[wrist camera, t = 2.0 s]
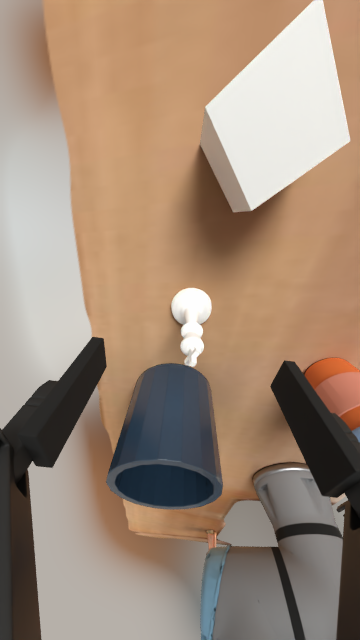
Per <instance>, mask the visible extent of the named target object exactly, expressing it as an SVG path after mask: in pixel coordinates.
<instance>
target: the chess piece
mask: <svg viewBox="0 0 360 640" xmlns="http://www.w3.org/2000/svg"><path fill="white" fill-rule="evenodd" d="M211 308H212V304H211V300H210V298H209V296H208V295H207V294H206V293H205V292H204V291H202V290H200V289H196V288H187V289H184V290H181V291H180V292H178V293H177V294H176V295H175V297H174V298H173V300H172V304H171V309H172V314H173V316H174V318H175V319H176V320H177V321H178V322H179V323H181V324H183V327H182V328H181V335H182V337H183V338H184V339H183V341H182V342H181V346H180V348H181V351H182V352H183V353H184V354H185V355H187V356H188V357H187V358H186V359H185V363H184V364H185V365H187V366H192V367H194V366H195V365H196V364H197V362H196V358H197V357H198V355H199V354H201V353H202V351H203V349H204V344H203V342H202V340H201V339H200V338H201V336H202V334H203V329H202V327H201V326H200V324H202V323H204V322H205V321H206V320H207V319H208V318H209V316H210V314H211Z"/></svg>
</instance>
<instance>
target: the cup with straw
mask: <svg viewBox="0 0 360 640" xmlns="http://www.w3.org/2000/svg"><path fill="white" fill-rule="evenodd" d="M304 376H305V377H306V379H307V380H308V382H309V383H310V384H311V386H312V387H313V389H314V390H315V391H316V393H317V394H318V396H319V397H320V398H321V400H322V401H323V403H324V404H325V405H326V407H327V408H328V410H329V411H330V413H336V414H337V415H338V416H339V417H340V418H341V419H342V420H343V421H344V422H345V423H346V424H347V425H348V427H349V428H350V429H351V431H352V433H353V434H354V435H355V436H356V437H357V439H358V440H359V442H360V371H359V370H358V369H357V368H355V367H354V366H353V365H351V364H350V363H349V362H347V361H346V360H344V359H341V358H327V359H323V360H320V361H318V362H316V363H314V364H313V365H312V366H310V367H309V368H308V369H307V371H306V373H305V375H304Z"/></svg>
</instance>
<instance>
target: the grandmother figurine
mask: <svg viewBox="0 0 360 640" xmlns="http://www.w3.org/2000/svg"><path fill="white" fill-rule="evenodd" d="M206 532H207V534H208V543H209V550H210V549H211V548H214V547H216V534H217V533H215V532H214V531H213V530H207V531H206ZM206 555H207V554H206Z"/></svg>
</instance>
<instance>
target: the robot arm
mask: <svg viewBox="0 0 360 640" xmlns="http://www.w3.org/2000/svg"><path fill="white" fill-rule="evenodd" d="M106 367H107V366H106V357H105V348H104V339H103V338H97V337H92V338H91V340H90V341H89V342H88V344H87V345H86V346H85V347H84V349H83V350H82V351H81V353H80V354H79V355H78V357H77V358H76V359H75V360H74V362H73V363H72V364H71V366H70V367H69V368H68V369H67V371H66V372H65V373H64V375H63V376H62V377H61V378H60V380H59V381H51V380H49V381H47V382H46V383H44V384H43V385H42V386H40V387H39V388H38V389H37V390H36V391H35V393H34V394H33V395H32V397H31V398H29V400H28V401H27V402H26V403H25V405H23V406H22V408H21V409H20V410H19V411H18V412H17V414H16V415H15V416H14V417H13V418H12V419H11V420H10V422H9V423H8V424H7V425H6V426H5V427H4V429H3V430H1V429H0V640H41V629H40V617H39V603H38V591H37V578H36V565H35V553H34V540H33V528H32V514H31V501H30V489H29V476H28V470H27V468H28V467H29V465H30V464H31V462H32V461H33V462H34V464H35V465H36V466H41V467H51V468H52V467H53V466H54V464H55V462H56V460H57V458H58V456H59V454H60V452H61V451H62V449H63V447H64V445H65V443H66V441H67V439H68V438H69V436H70V434H71V432H72V430H73V428H74V426H75V425H76V423H77V421H78V419H79V417H80V415H81V413H82V412H83V410H84V408H85V406H86V404H87V402H88V400H89V398H90V397H91V395H92V393H93V391H94V389H95V387H96V385H97V384H98V382H99V380H100V378H101V376H102V374H103V372H104V370H105V369H106ZM270 387H271V389H272V391H273V393H274V395H275V397H276V399H277V401H278V404H279V406H280V408H281V410H282V412H283V414H284V416H285V418H286V421H287V423H288V425H289V427H290V429H291V431H292V433H293V436H294V438H295V440H296V442H297V444H298V446H299V448H300V450H301V453H302V455H303V457H304V459H305V461H306V463H307V464H302V463H283V464H276V465H272V466H269V467H266V468H264V469H262V470H260V471H258V472H257V473H256V474H255V475H254V477H253V483H254V487H255V490H256V493H257V495H258V497H259V499H260V501H261V503H262V505H263V507H264V509H265V511H266V513H267V515H268V517H269V519H270V521H271V523H272V525H273V528H274V531H275V534H276V539H277V542H278V546H279V547H239V546H235V547H234V546H231V545H227V546H226V547H214V548H211V549H210V550H209V551H208V553H207V555H206V559H205V563H204V569H203V579H202V590H201V640H360V442H359V440H358V439H357V437H356V436H355V435H354V434H353V433H352V431H351V429H350V428H349V427H348V425H347V424H346V423H345V422H344V421H343V420H342V419H341V418H340V417H339V416H338V415H337V414H336V413H330V411H329V410H328V408H327V407H326V405H325V404H324V403H323V401H322V400H321V398H320V397H319V396H318V394H317V393H316V391H315V390H314V389H313V387H312V386H311V384H310V383H309V382H308V380H307V379H306V377H305V376H304V374H303V373H302V372H301V370H300V369H299V367H298V366H297V365H296V363H295V362H292V361H284V362H283V364H282V366H281V368H280V369H279V371H278V373H277V375H276V377H275V378H274V380H273V382H272V384H271V386H270ZM343 493H345V495H346V496H347V498H348V501H346V502H344V503H343V504H341V505H340V506H338V508H337V511H338V512H341V511H342V510H344V509H345V514H344V515H343V516H344V532H343V537H342V535H341V533H340V531H339V529H338V527H337V524H336V522H335V518H334V514H333V509H332V505H331V500H330V497H336V498H337V497H339V496H340V495H342V494H343Z"/></svg>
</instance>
